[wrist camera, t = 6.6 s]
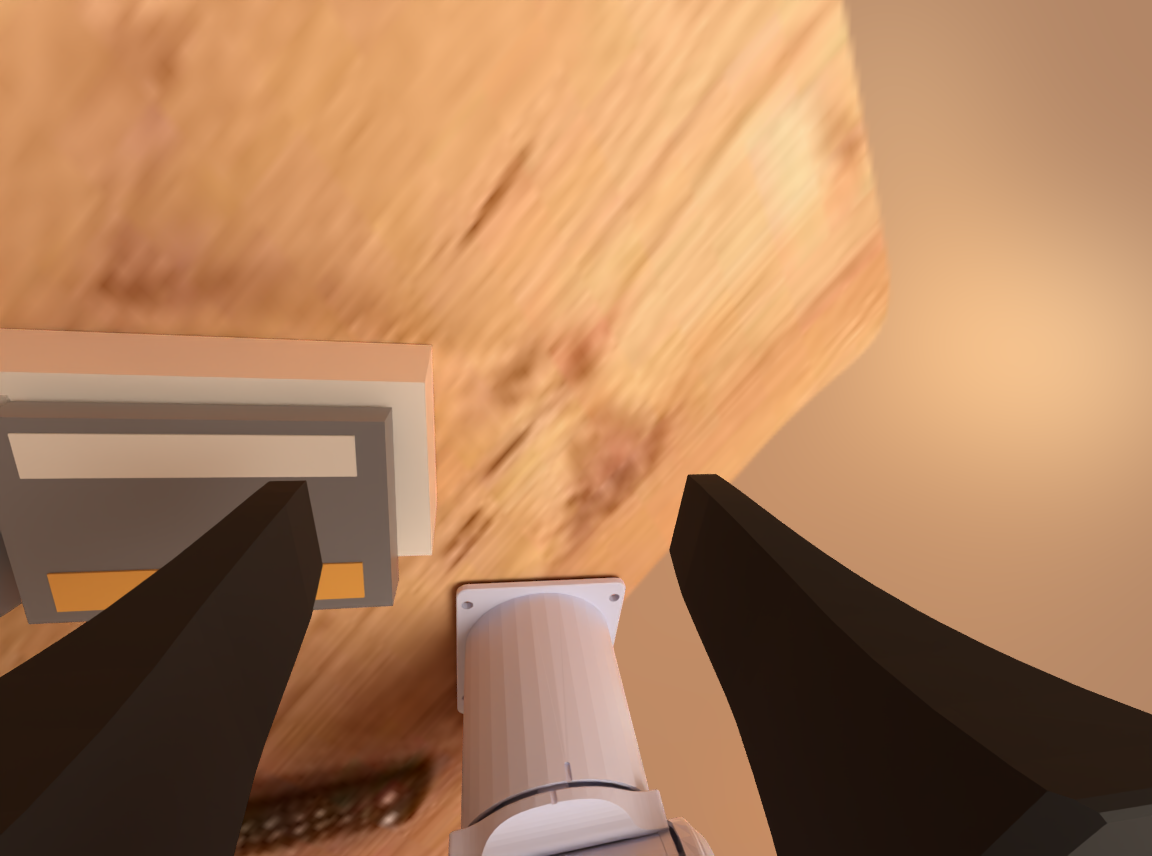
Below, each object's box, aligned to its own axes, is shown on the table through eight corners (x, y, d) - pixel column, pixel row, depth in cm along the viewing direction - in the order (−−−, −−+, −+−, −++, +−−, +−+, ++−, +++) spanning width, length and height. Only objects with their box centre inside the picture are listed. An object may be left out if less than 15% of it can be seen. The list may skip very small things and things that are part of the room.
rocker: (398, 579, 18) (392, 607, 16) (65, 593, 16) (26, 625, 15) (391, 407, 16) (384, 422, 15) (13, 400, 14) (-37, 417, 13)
